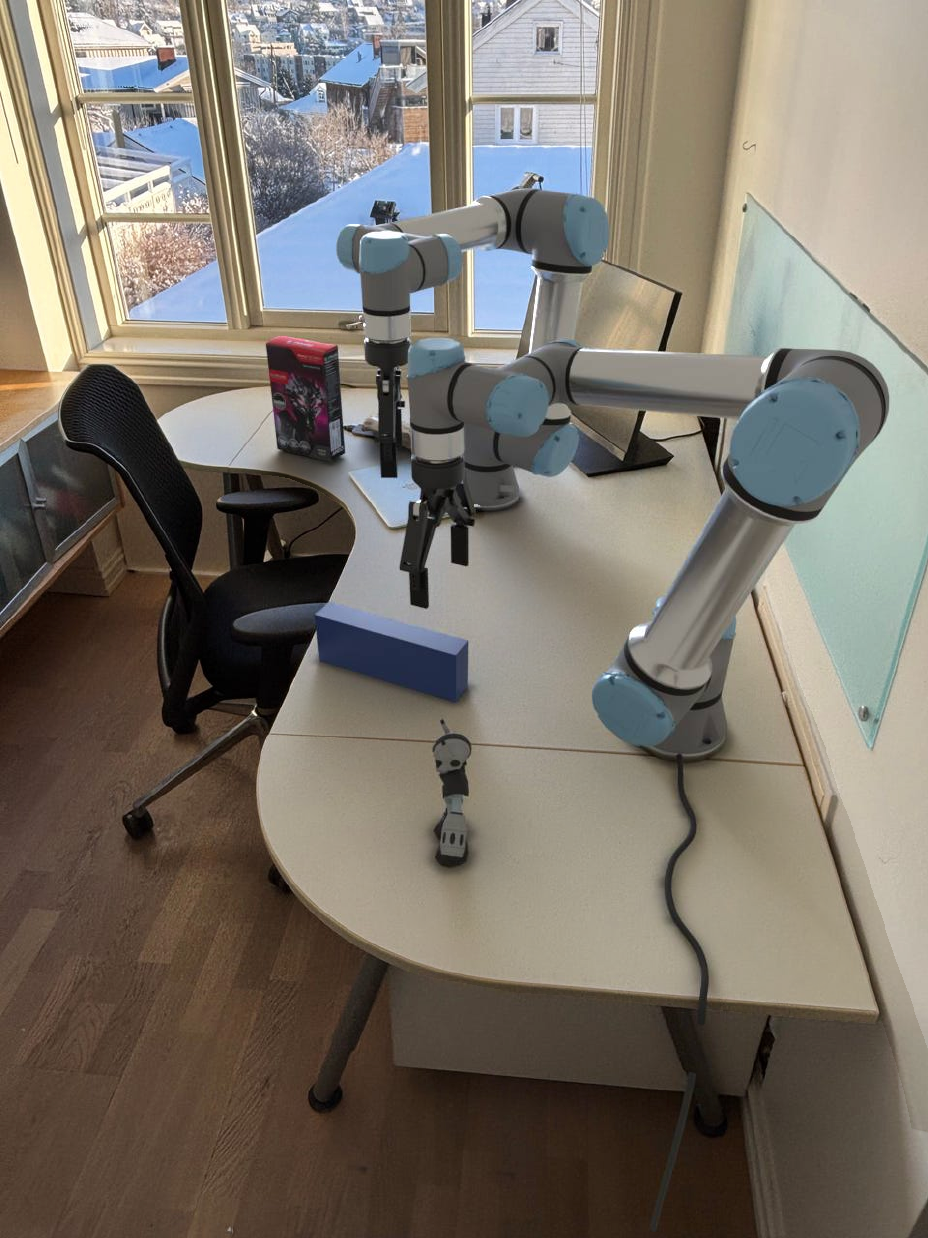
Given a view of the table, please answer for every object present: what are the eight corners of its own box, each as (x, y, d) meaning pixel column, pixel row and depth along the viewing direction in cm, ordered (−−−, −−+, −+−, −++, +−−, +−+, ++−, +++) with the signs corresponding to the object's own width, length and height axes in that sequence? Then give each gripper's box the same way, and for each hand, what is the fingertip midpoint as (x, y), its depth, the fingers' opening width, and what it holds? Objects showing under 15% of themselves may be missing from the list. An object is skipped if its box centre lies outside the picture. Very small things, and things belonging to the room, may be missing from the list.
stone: (345, 437, 230) (349, 413, 227) (367, 428, 243) (371, 405, 241) (423, 461, 226) (429, 437, 224) (441, 451, 239) (446, 428, 237)
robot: (474, 902, 115) (476, 785, 104) (435, 903, 115) (433, 787, 104) (466, 791, 132) (467, 679, 120) (432, 792, 131) (430, 680, 120)
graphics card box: (274, 450, 230) (262, 341, 215) (291, 440, 235) (280, 333, 220) (331, 464, 224) (323, 352, 209) (347, 453, 229) (340, 344, 214)
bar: (467, 687, 152) (468, 640, 147) (456, 702, 148) (456, 655, 143) (333, 646, 161) (329, 601, 156) (319, 660, 158) (314, 614, 152)
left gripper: (370, 314, 158) (376, 431, 170) (355, 362, 137) (363, 491, 149) (414, 315, 158) (417, 432, 170) (406, 362, 137) (409, 492, 149)
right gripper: (452, 419, 139) (454, 543, 151) (368, 483, 120) (378, 619, 132) (498, 427, 136) (496, 552, 148) (419, 493, 118) (424, 631, 129)
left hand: (392, 460), depth 159 cm, fingers open, 13 cm apart
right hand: (440, 584), depth 140 cm, fingers open, 13 cm apart
